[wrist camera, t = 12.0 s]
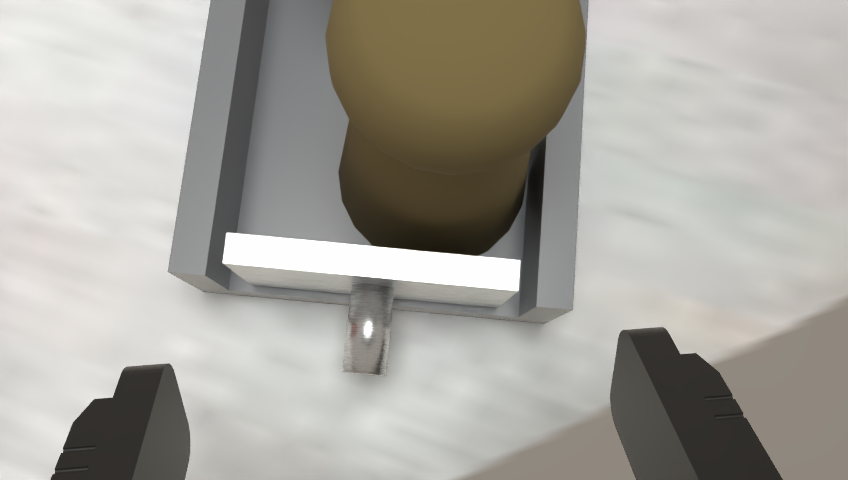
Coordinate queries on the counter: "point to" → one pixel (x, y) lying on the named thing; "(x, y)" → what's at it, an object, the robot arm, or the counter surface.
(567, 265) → the tray
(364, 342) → the pusher
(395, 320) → the counter surface
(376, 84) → the cork
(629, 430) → the robot arm
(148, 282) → the counter surface
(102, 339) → the counter surface
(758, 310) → the counter surface
